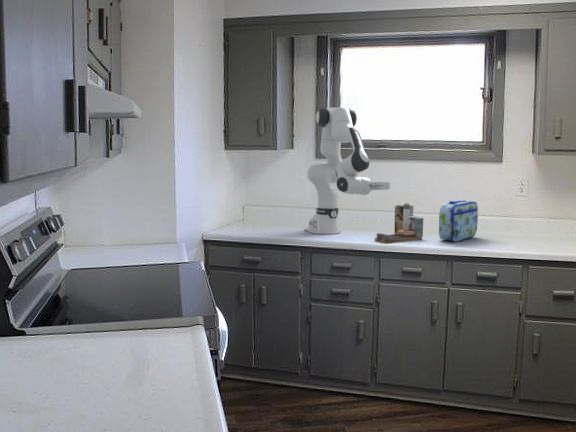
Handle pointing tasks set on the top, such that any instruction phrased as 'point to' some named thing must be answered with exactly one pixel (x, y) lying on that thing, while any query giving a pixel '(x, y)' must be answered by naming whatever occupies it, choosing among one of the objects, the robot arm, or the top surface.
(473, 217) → the lunch box
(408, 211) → the white column brown base
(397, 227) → the coffee box
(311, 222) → the robot arm
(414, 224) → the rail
